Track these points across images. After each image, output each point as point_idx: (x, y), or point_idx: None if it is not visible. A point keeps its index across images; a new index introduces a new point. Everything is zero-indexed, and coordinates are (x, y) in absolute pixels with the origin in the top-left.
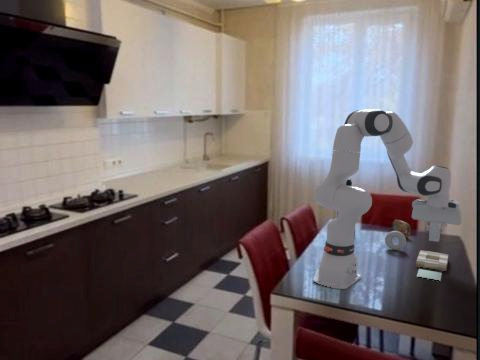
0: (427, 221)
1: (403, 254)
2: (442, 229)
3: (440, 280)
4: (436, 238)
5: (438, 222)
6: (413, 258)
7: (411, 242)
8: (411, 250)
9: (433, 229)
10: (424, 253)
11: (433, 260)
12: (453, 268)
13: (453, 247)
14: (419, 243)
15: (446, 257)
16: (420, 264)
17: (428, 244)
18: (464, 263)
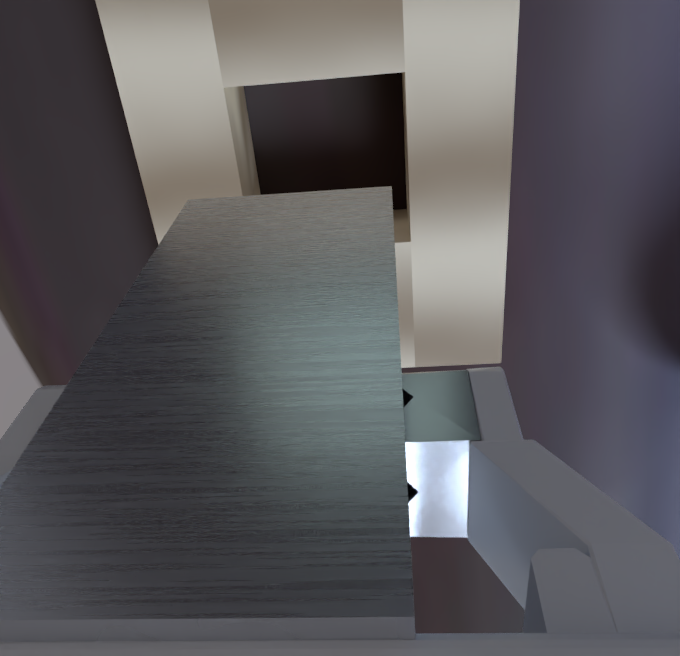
0: (561, 629)
1: (675, 274)
2: (25, 442)
3: None
4: (220, 226)
5: (11, 612)
6: (555, 200)
7: None
8: (583, 435)
9: (278, 353)
10: (442, 266)
11: (288, 31)
12: (85, 117)
13: None
14: (516, 620)
15: None
16: None
17: (442, 628)
18: (56, 341)
